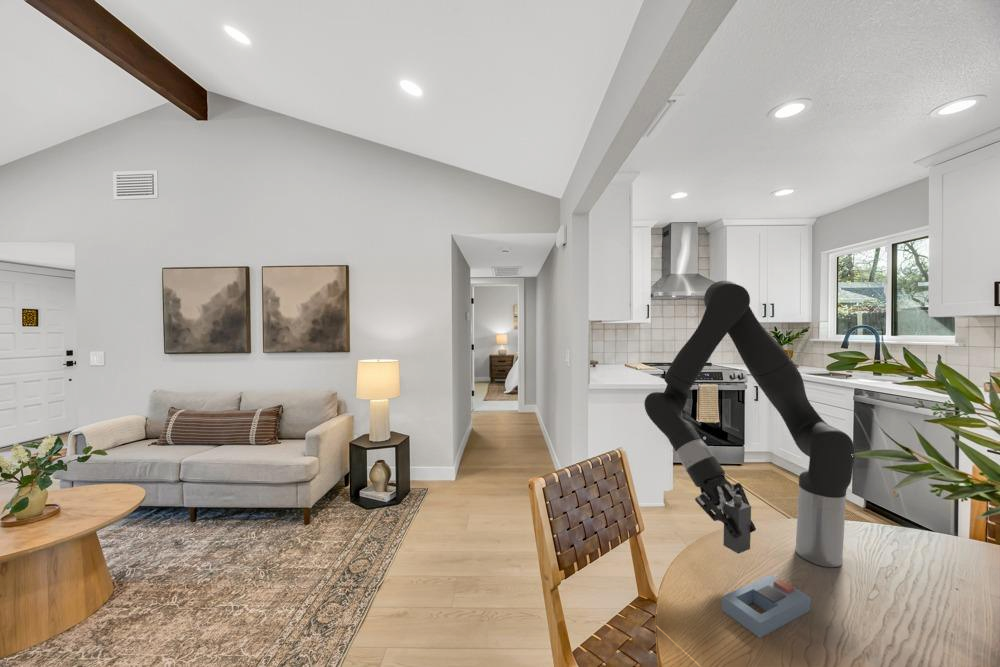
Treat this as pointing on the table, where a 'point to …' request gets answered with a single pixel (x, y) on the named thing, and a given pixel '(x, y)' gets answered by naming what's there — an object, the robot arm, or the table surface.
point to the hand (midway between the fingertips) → (745, 533)
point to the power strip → (766, 604)
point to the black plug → (738, 525)
